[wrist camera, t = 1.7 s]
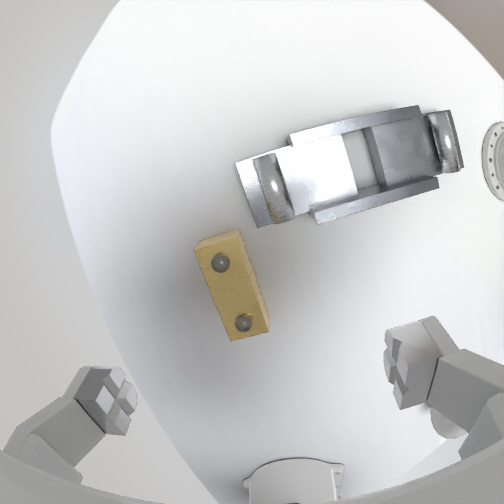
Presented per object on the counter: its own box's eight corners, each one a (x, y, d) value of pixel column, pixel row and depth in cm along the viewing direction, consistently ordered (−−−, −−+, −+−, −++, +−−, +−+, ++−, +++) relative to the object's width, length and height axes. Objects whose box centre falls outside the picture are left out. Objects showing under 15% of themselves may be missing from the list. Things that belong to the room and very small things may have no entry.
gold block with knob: (239, 228, 29) (234, 238, 25) (269, 314, 32) (268, 335, 28) (201, 239, 30) (192, 251, 26) (234, 323, 33) (229, 344, 29)
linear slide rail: (452, 173, 26) (476, 177, 22) (260, 229, 29) (259, 242, 25) (435, 105, 24) (458, 99, 20) (235, 154, 27) (229, 153, 23)
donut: (434, 407, 36) (457, 450, 26) (418, 408, 36) (440, 454, 26) (464, 358, 33) (496, 400, 23) (448, 357, 33) (481, 402, 23)
